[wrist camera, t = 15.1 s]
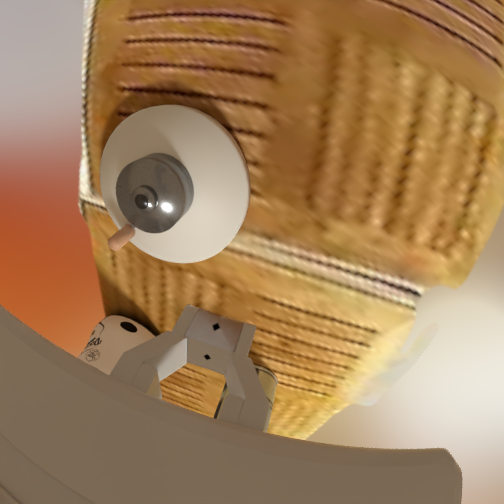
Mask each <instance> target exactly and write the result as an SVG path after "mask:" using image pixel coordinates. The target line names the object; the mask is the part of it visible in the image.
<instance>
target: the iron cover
mask: <svg viewBox="0 0 504 504" xmlns="http://www.w3.org/2000/svg"><path fill="white" fill-rule="evenodd" d="M116 198H117V202H118V205H119V208H120V210H121V212H122V213H123V215H124V216H125V218H126V219H127V220H128V221H129V222H130V223H131V224H132V225H133V226H135V227H136V228H138V229H140V230H142V231H144V232H147V233H154V234H156V233H162V232H165V231H167V230H169V229H170V228H172V227H173V226H174V225H175V224H176V223H177V222H178V221H179V220H180V219H181V218H182V217H183V216H184V215H185V214H186V213H187V212H188V210H189V209H190V207H191V205H192V202H193V198H194V186H193V181H192V179H191V176H190V174H189V172H188V170H187V169H186V167H185V166H184V165H183V164H182V163H181V162H180V161H179V160H177V159H176V158H175V157H173V156H171V155H168V154H165V153H152V154H149V155H146V156H144V157H142V158H140V159H138V160H135V161H133V162H131V163H129V164H128V165H126V166H125V167H124V168H123V169H122V171H121V172H120V174H119V176H118V178H117V182H116Z"/></svg>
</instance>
